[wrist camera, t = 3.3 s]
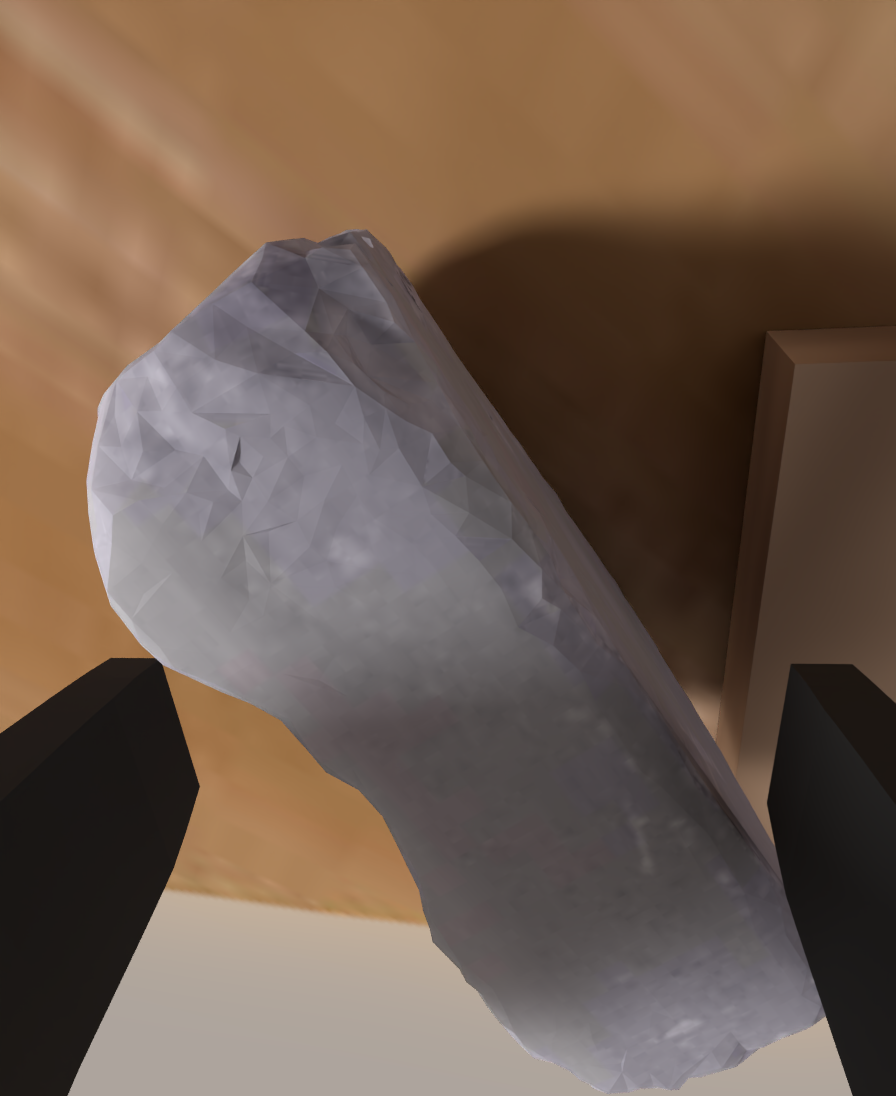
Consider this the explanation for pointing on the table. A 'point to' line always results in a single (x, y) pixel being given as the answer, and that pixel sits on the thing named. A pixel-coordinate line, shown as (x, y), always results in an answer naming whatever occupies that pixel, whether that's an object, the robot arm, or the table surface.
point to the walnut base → (812, 535)
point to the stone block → (446, 662)
